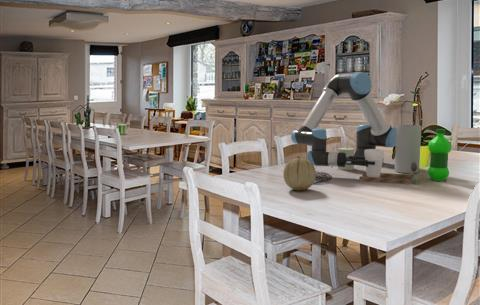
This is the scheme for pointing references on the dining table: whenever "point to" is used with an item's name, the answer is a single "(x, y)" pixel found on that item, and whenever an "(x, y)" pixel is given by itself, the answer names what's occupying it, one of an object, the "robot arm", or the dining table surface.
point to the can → (349, 153)
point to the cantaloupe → (299, 174)
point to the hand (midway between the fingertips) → (383, 161)
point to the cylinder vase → (407, 148)
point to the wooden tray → (391, 176)
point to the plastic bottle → (439, 156)
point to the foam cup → (373, 155)
